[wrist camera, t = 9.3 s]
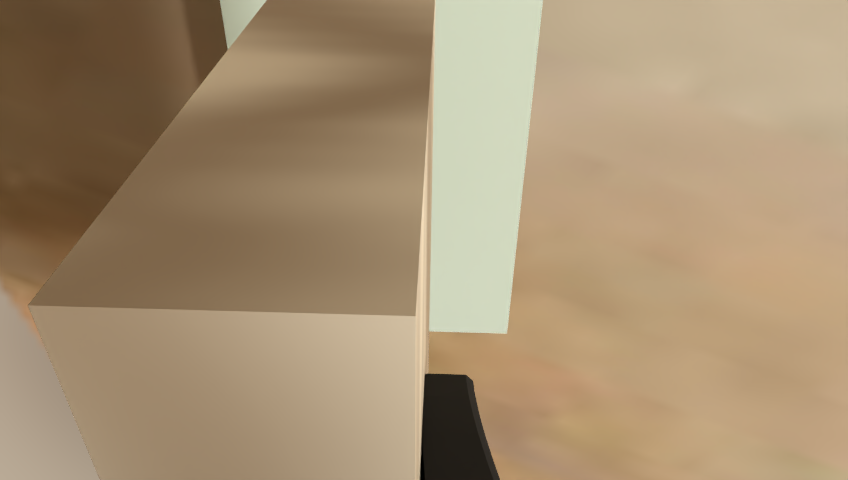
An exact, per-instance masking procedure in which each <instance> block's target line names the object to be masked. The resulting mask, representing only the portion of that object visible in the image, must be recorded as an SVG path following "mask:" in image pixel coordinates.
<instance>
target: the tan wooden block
mask: <svg viewBox="0 0 848 480" xmlns="http://www.w3.org/2000/svg"><path fill="white" fill-rule="evenodd" d="M435 6H436V0H267V1H266V2H265V3H264V4H263V6H262V7H261V8H260V9H259V11H258V12H257V13H256V15H255V16H254V17H253V18H252V20H251V21H250V22H249V24H248V25H247V26H246V27H245V29H244V30H243V31H242V32H241V34H240V35H239V36H238V38H237V39H236V40H235V41H234V43H233V44H232V45H231V47H230V48H229V49H228V50H227V52H226V53H225V54H224V55H223V57H222V58H221V59H220V61H219V62H218V63H217V64H216V66H215V67H214V68H213V70H212V71H211V72H210V73H209V75H208V76H207V77H206V78H205V80H204V81H203V82H202V84H201V85H200V86H199V87H198V89H197V90H196V91H195V93H194V94H193V95H192V96H191V98H190V99H189V100H188V101H187V103H186V104H185V105H184V107H183V108H182V109H181V110H180V112H179V113H178V114H177V115H176V117H175V118H174V119H173V121H172V122H171V123H170V124H169V126H168V127H167V128H166V130H165V131H164V132H163V133H162V135H161V136H160V137H159V138H158V140H157V141H156V142H155V144H154V145H153V146H152V147H151V149H150V150H149V151H148V153H147V154H146V155H145V156H144V158H143V159H142V160H141V161H140V163H139V164H138V165H137V167H136V168H135V169H134V170H133V172H132V173H131V174H130V176H129V177H128V178H127V179H126V181H125V182H124V183H123V184H122V186H121V187H120V188H119V190H118V191H117V192H116V193H115V195H114V196H113V197H112V199H111V200H110V201H109V202H108V204H107V205H106V206H105V207H104V209H103V210H102V211H101V213H100V214H99V215H98V216H97V218H96V219H95V220H94V222H93V223H92V224H91V225H90V227H89V228H88V229H87V230H86V232H85V233H84V234H83V236H82V237H81V238H80V239H79V241H78V242H77V243H76V245H75V246H74V247H73V248H72V250H71V251H70V252H69V253H68V255H67V256H66V257H65V259H64V260H63V261H62V262H61V264H60V265H59V266H58V268H57V269H56V270H55V271H54V273H53V274H52V275H51V276H50V278H49V279H48V280H47V282H46V283H45V284H44V285H43V287H42V288H41V289H40V291H39V292H38V293H37V294H36V296H35V297H34V298H33V299H32V301H31V302H30V303H29V305H28V307H29V310H30V312H31V314H32V317H33V319H34V322H35V324H36V326H37V329H38V331H39V334H40V336H41V339H42V341H43V343H44V346H45V348H46V351H47V353H48V355H49V358H50V360H51V363H52V365H53V367H54V370H55V372H56V375H57V377H58V380H59V382H60V384H61V387H62V389H63V392H64V394H65V397H66V399H67V401H68V404H69V406H70V409H71V411H72V414H73V416H74V418H75V421H76V423H77V425H78V428H79V430H80V433H81V435H82V438H83V440H84V442H85V445H86V447H87V449H88V452H89V455H90V457H91V460H92V462H93V464H94V467H95V469H96V471H97V474H98V476H99V479H100V480H421V458H422V419H423V398H424V378H425V374H428V367H429V316H430V264H431V212H432V161H433V109H434V58H435Z"/></svg>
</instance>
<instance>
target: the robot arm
mask: <svg viewBox="0 0 848 480" xmlns="http://www.w3.org/2000/svg"><path fill="white" fill-rule="evenodd" d="M421 480H500V478H499V476H498V473H497V470H496V467H495V464H494V462H493V459H492V455H491V452H490V449H489V446H488V443H487V440H486V437H485V433H484V430H483V426H482V423H481V419H480V415H479V411H478V407H477V402H476V397H475V392H474V385H473V381H472V380H471V379H470V378H469V377H468V376H467V375H453V374H425V378H424V398H423V419H422V458H421Z"/></svg>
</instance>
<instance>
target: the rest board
mask: <svg viewBox="0 0 848 480" xmlns="http://www.w3.org/2000/svg"><path fill="white" fill-rule="evenodd" d="M266 1H267V0H220V4H221V10H222V17H223V23H224V29H225V36H226V42H227V48H228V49H229V48H230V47H231V45H232V44H233V43H234V41H235V40H236V39H237V38H238V36H239V35H240V34H241V32H242V31H243V30H244V29H245V27H246V26H247V25H248V24H249V22H250V21H251V20H252V18H253V17H254V16H255V15H256V13H257V12H258V11H259V9H260V8H261V7H262V6H263V4H264V3H265V2H266ZM542 4H543V0H436V6H435V58H434V109H433V161H432V212H431V264H430V316H429V331H436V332H472V333H507V328H508V319H509V309H510V300H511V291H512V282H513V272H514V263H515V254H516V245H517V235H518V226H519V217H520V208H521V198H522V189H523V180H524V171H525V161H526V152H527V143H528V134H529V124H530V115H531V106H532V97H533V87H534V78H535V69H536V60H537V50H538V41H539V32H540V23H541V13H542Z"/></svg>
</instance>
